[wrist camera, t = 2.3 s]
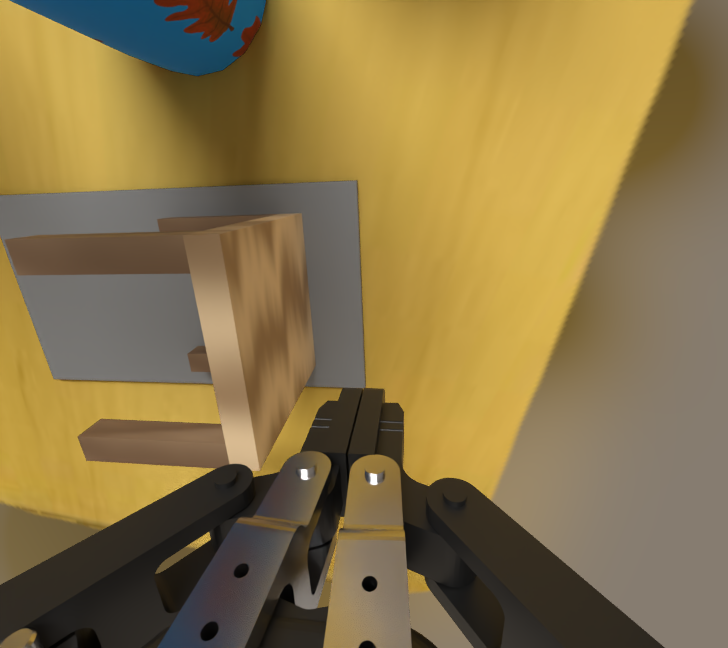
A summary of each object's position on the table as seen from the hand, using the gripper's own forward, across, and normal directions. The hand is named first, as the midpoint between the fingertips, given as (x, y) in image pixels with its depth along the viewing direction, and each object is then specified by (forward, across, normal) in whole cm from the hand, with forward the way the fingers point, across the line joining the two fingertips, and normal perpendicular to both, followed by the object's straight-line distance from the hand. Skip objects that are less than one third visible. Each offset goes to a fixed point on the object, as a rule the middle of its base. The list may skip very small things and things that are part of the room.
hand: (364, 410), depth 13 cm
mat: (+15, +17, 0) cm, 23 cm away
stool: (+15, +11, 0) cm, 19 cm away
